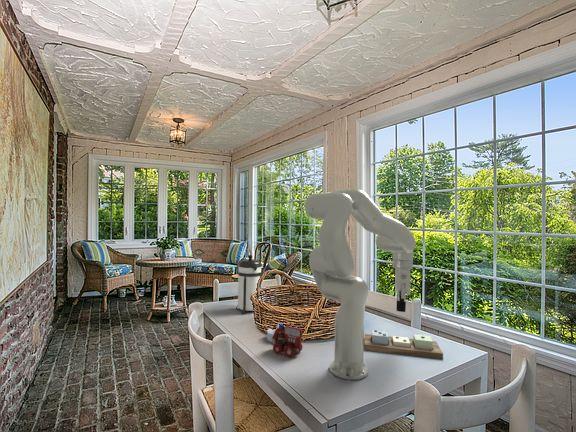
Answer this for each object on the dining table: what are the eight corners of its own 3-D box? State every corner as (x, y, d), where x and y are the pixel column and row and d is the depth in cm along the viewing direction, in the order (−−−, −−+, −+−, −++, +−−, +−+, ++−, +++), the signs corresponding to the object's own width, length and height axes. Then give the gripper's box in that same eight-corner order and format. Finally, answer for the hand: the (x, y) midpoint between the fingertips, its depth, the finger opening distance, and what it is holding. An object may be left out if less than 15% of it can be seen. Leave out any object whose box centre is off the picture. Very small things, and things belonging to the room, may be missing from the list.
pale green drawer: (432, 349, 120) (432, 340, 120) (415, 347, 122) (415, 338, 122) (429, 343, 126) (429, 335, 126) (413, 341, 128) (413, 333, 128)
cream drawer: (410, 351, 122) (410, 342, 122) (393, 349, 124) (393, 340, 124) (408, 345, 128) (408, 336, 128) (392, 343, 130) (392, 335, 130)
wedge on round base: (300, 338, 134) (271, 333, 139) (300, 322, 134) (272, 318, 139) (294, 346, 126) (263, 341, 130) (294, 329, 126) (264, 324, 130)
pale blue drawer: (388, 344, 124) (388, 336, 124) (372, 342, 126) (372, 334, 126) (387, 338, 130) (387, 330, 130) (372, 337, 131) (372, 329, 131)
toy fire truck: (278, 346, 126) (279, 319, 126) (306, 353, 119) (306, 325, 119) (268, 352, 120) (268, 324, 120) (296, 360, 113) (297, 331, 113)
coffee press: (268, 308, 177) (269, 254, 177) (255, 316, 162) (256, 257, 162) (240, 304, 183) (241, 252, 183) (225, 312, 168) (226, 255, 168)
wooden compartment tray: (443, 359, 117) (443, 353, 117) (364, 349, 123) (364, 344, 123) (436, 346, 128) (436, 341, 128) (364, 338, 135) (364, 333, 135)
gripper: (415, 267, 118) (413, 317, 117) (410, 262, 132) (408, 307, 132) (394, 266, 120) (392, 315, 119) (391, 261, 134) (389, 305, 134)
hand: (400, 311), depth 126 cm, fingers closed
